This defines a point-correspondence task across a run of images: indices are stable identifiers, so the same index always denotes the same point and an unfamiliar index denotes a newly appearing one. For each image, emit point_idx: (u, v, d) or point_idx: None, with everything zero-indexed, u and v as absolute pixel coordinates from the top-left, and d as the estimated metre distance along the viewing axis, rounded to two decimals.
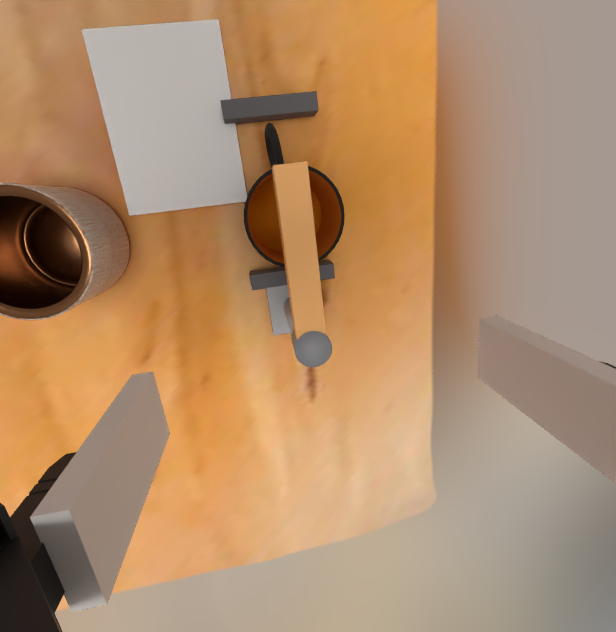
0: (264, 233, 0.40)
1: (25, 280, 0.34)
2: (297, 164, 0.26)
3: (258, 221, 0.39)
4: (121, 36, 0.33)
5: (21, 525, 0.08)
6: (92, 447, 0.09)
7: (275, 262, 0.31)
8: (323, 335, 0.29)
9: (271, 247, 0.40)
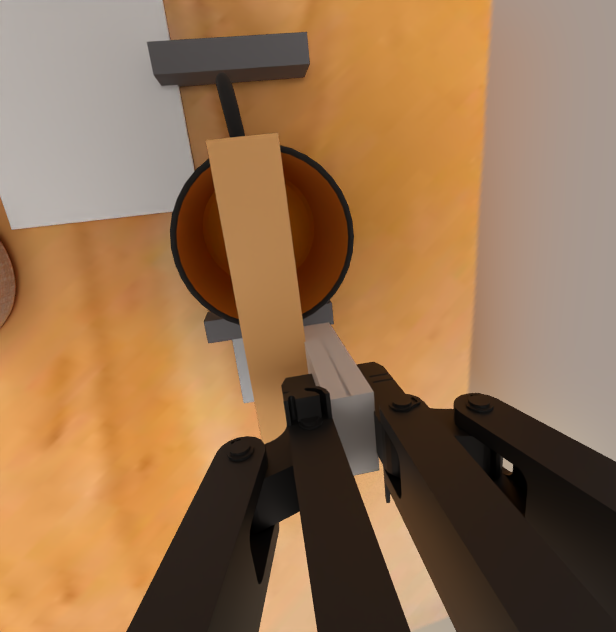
0: None
1: None
2: (257, 139, 0.12)
3: (218, 238, 0.26)
4: None
5: None
6: (324, 366, 0.12)
7: (231, 319, 0.17)
8: None
9: None
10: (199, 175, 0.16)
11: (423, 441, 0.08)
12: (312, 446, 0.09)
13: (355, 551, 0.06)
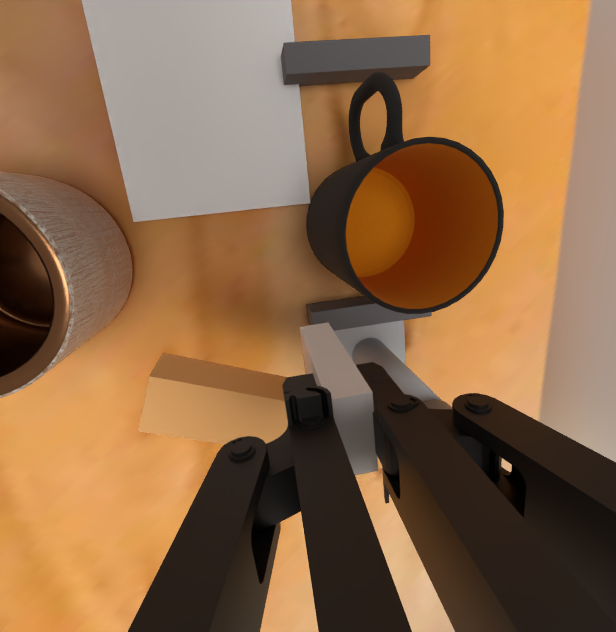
0: None
1: None
2: (149, 393, 0.14)
3: None
4: None
5: None
6: (325, 366, 0.12)
7: (385, 304, 0.18)
8: None
9: None
10: (373, 167, 0.16)
11: (422, 441, 0.08)
12: (313, 446, 0.09)
13: (357, 550, 0.06)
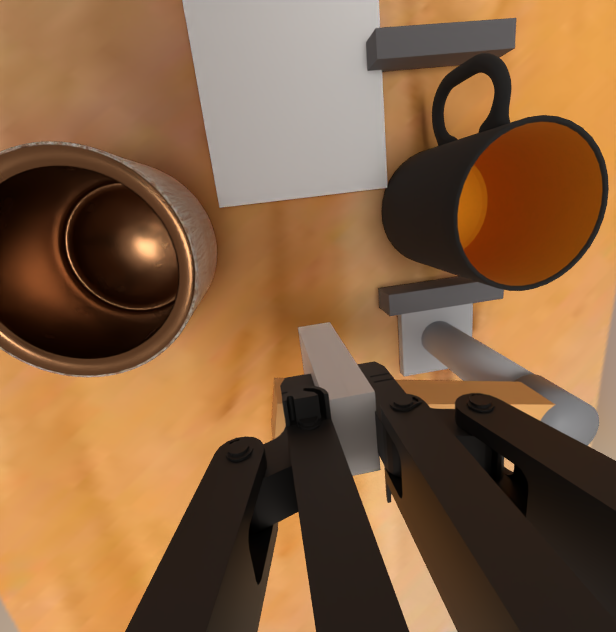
0: None
1: (70, 305, 0.22)
2: (279, 418, 0.15)
3: None
4: None
5: None
6: (323, 366, 0.12)
7: (490, 281, 0.19)
8: (555, 412, 0.17)
9: None
10: (488, 145, 0.17)
11: (424, 441, 0.08)
12: (311, 446, 0.09)
13: (354, 551, 0.06)
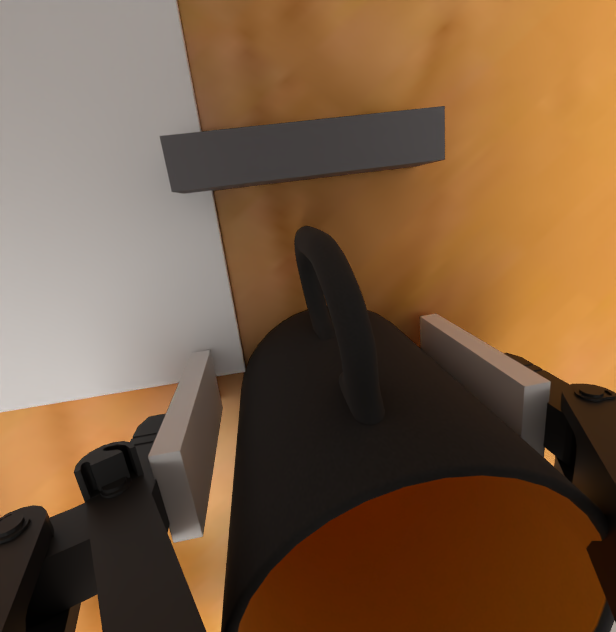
0: None
1: None
2: None
3: None
4: None
5: None
6: (179, 407, 0.11)
7: None
8: None
9: None
10: None
11: (610, 432, 0.08)
12: (118, 516, 0.07)
13: (170, 630, 0.05)
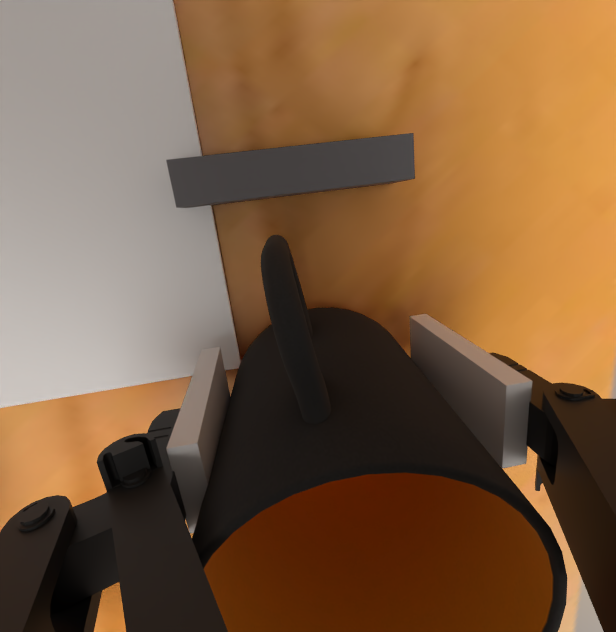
0: None
1: None
2: None
3: None
4: None
5: None
6: (194, 401, 0.11)
7: None
8: None
9: None
10: None
11: (590, 431, 0.08)
12: (138, 506, 0.07)
13: (190, 618, 0.05)
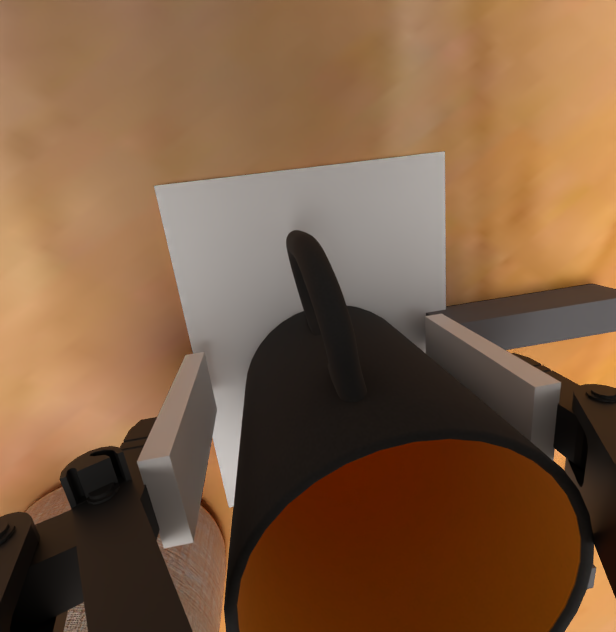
0: None
1: None
2: None
3: None
4: (239, 195, 0.15)
5: None
6: (171, 411, 0.11)
7: None
8: None
9: None
10: (286, 504, 0.07)
11: None
12: (105, 523, 0.07)
13: None
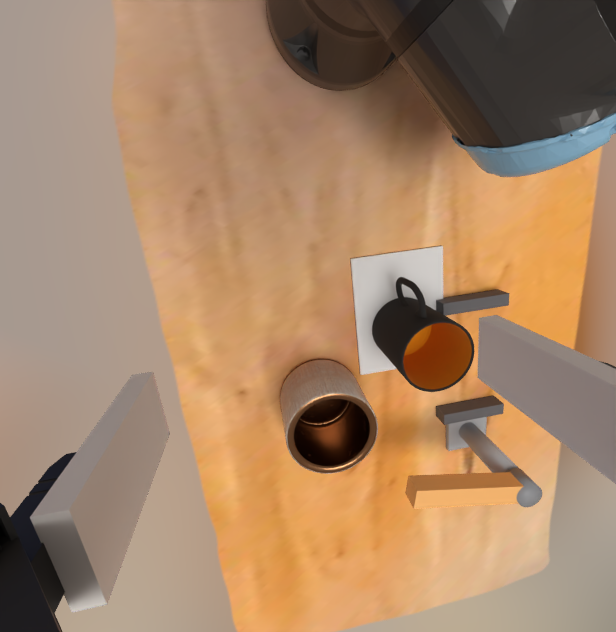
0: None
1: (299, 431, 0.47)
2: (417, 496, 0.41)
3: None
4: (376, 261, 0.46)
5: (21, 525, 0.08)
6: (92, 447, 0.09)
7: (421, 389, 0.40)
8: (523, 489, 0.42)
9: None
10: (414, 334, 0.38)
11: None
12: None
13: None
